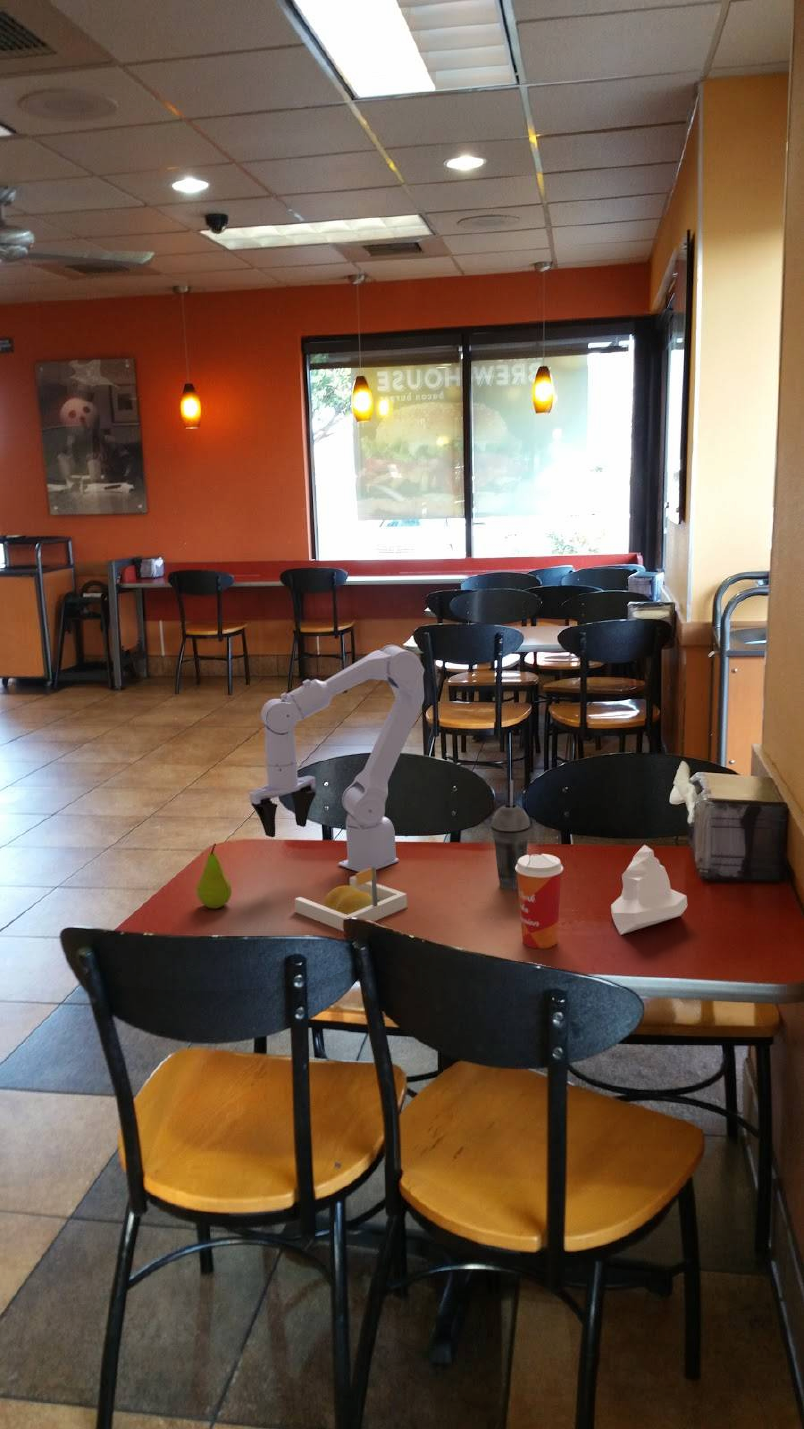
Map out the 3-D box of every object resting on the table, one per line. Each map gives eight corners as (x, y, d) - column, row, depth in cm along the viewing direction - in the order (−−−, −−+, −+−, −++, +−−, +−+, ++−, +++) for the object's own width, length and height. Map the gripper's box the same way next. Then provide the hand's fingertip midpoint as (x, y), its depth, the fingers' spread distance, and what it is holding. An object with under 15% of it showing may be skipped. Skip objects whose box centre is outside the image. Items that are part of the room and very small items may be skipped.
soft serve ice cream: (588, 932, 180) (579, 848, 181) (654, 919, 188) (646, 839, 189) (638, 940, 170) (629, 850, 170) (706, 925, 177) (697, 840, 178)
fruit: (190, 907, 194) (185, 845, 191) (217, 897, 198) (212, 835, 196) (213, 916, 190) (208, 852, 187) (240, 904, 194) (235, 842, 191)
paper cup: (512, 933, 178) (511, 853, 175) (557, 930, 178) (557, 850, 175) (521, 953, 170) (520, 871, 167) (568, 950, 171) (568, 867, 168)
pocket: (354, 888, 200) (352, 840, 198) (407, 906, 190) (405, 856, 188) (295, 911, 190) (292, 861, 188) (347, 932, 180) (344, 880, 178)
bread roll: (349, 923, 184) (348, 902, 184) (317, 910, 191) (315, 889, 190) (384, 909, 190) (383, 888, 189) (351, 896, 196) (350, 876, 196)
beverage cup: (487, 890, 196) (484, 786, 192) (498, 876, 203) (496, 775, 199) (525, 894, 194) (523, 789, 189) (535, 880, 200) (534, 778, 196)
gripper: (297, 751, 210) (301, 817, 213) (237, 767, 200) (242, 836, 203) (321, 757, 205) (324, 824, 208) (261, 773, 195) (265, 843, 198)
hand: (286, 830), depth 205 cm, fingers open, 7 cm apart
